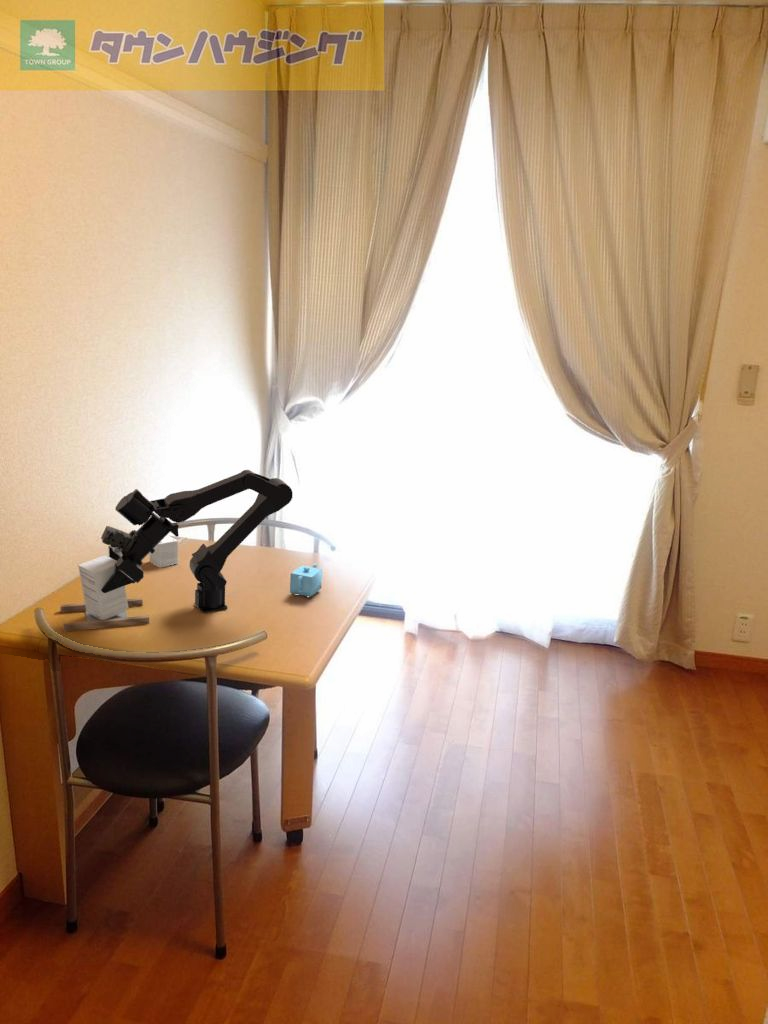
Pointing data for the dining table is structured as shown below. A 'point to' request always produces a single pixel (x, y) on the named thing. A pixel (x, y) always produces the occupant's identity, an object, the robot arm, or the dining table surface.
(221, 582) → the robot arm
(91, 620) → the guide rails
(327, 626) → the dining table surface
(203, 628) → the dining table surface
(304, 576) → the pale blue boxy block
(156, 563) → the skincare box
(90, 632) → the dining table surface
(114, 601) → the supplement box
